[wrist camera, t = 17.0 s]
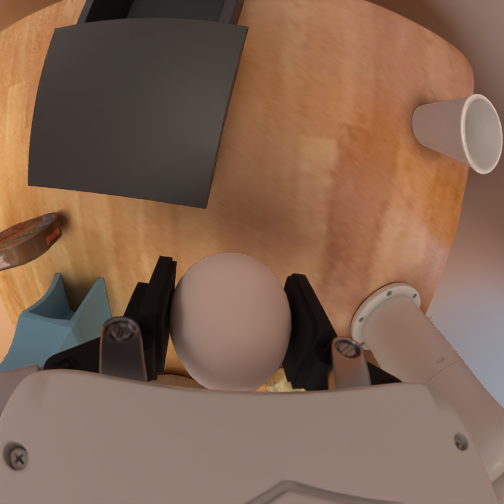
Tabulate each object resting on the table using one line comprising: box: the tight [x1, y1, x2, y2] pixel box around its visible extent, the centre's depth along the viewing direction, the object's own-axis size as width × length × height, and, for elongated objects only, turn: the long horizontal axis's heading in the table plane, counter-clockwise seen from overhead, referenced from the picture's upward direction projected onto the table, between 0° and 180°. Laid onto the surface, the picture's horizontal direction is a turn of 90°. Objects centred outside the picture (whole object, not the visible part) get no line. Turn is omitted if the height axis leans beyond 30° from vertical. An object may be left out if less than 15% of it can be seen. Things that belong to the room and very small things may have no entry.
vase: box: [0, 273, 112, 373], centre depth 22 cm, size 8×8×20 cm
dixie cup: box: [412, 94, 502, 174], centre depth 21 cm, size 8×8×10 cm
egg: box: [169, 253, 292, 392], centre depth 10 cm, size 5×5×7 cm
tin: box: [0, 213, 62, 271], centre depth 22 cm, size 15×3×8 cm, turn 97°
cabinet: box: [28, 18, 248, 209], centre depth 18 cm, size 13×15×11 cm
